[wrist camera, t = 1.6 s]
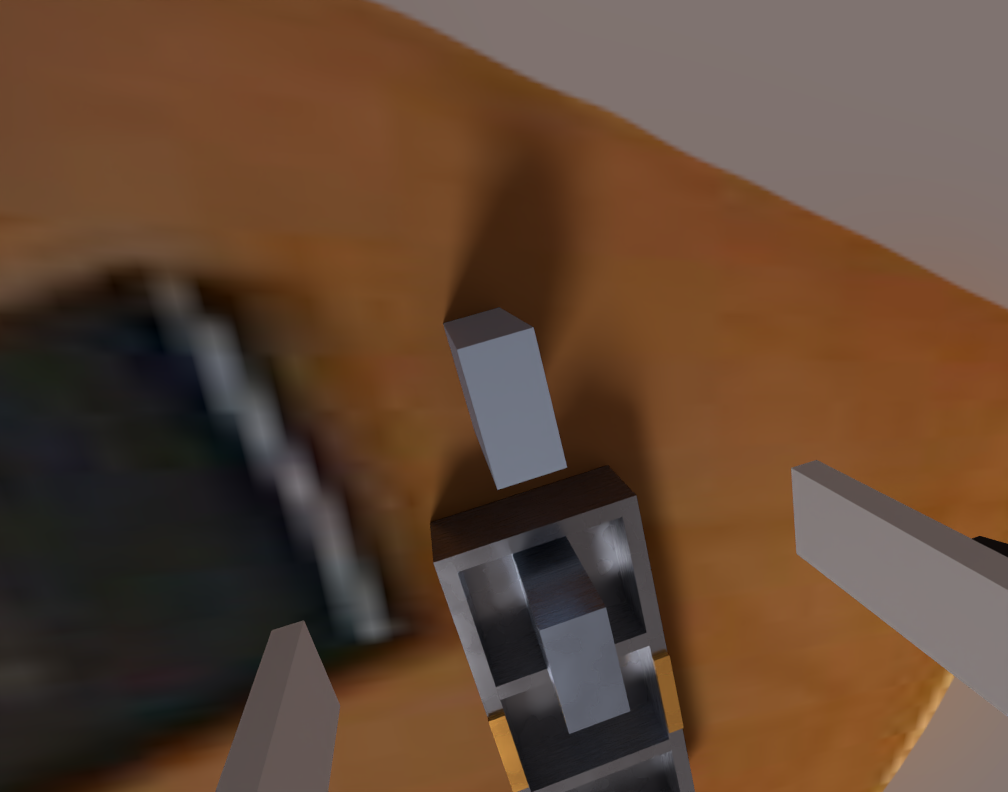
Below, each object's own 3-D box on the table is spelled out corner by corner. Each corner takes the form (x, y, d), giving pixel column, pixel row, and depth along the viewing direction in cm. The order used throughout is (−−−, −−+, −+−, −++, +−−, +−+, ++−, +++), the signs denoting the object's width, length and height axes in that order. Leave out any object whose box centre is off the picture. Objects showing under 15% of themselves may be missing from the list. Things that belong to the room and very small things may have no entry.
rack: (430, 522, 31) (439, 628, 22) (607, 465, 32) (683, 544, 23) (536, 834, 39) (573, 999, 31) (674, 779, 41) (747, 924, 32)
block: (443, 323, 28) (456, 349, 20) (499, 307, 28) (533, 327, 21) (474, 429, 30) (497, 489, 22) (526, 413, 30) (567, 467, 23)
